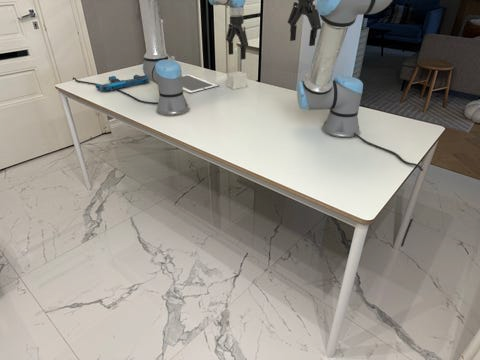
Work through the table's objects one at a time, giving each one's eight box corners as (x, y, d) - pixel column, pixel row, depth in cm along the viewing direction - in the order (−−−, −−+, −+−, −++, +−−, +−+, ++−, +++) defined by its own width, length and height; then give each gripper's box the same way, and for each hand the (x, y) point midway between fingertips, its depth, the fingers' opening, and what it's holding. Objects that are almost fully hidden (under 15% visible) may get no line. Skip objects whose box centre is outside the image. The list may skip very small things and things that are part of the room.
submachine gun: (140, 69, 223) (158, 75, 206) (141, 75, 225) (159, 81, 208) (87, 79, 204) (103, 87, 188) (89, 85, 206) (105, 94, 190)
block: (246, 86, 202) (246, 74, 198) (233, 89, 198) (233, 76, 194) (240, 83, 207) (240, 71, 203) (227, 85, 203) (226, 73, 199)
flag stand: (173, 62, 249) (168, 17, 233) (177, 66, 239) (172, 20, 223) (155, 64, 245) (149, 18, 229) (158, 68, 235) (152, 21, 219)
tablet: (161, 80, 212) (161, 79, 212) (189, 74, 223) (188, 73, 223) (190, 93, 191) (190, 92, 191) (218, 85, 203) (218, 85, 202)
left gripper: (255, 18, 174) (254, 60, 186) (231, 12, 192) (231, 51, 204) (242, 19, 171) (242, 62, 183) (219, 13, 189) (220, 53, 201)
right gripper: (334, -8, 138) (326, 46, 150) (295, -12, 156) (291, 37, 168) (320, -7, 135) (314, 48, 147) (282, -11, 153) (279, 39, 165)
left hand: (236, 56), depth 193 cm, fingers open, 13 cm apart
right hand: (302, 43), depth 157 cm, fingers open, 13 cm apart
